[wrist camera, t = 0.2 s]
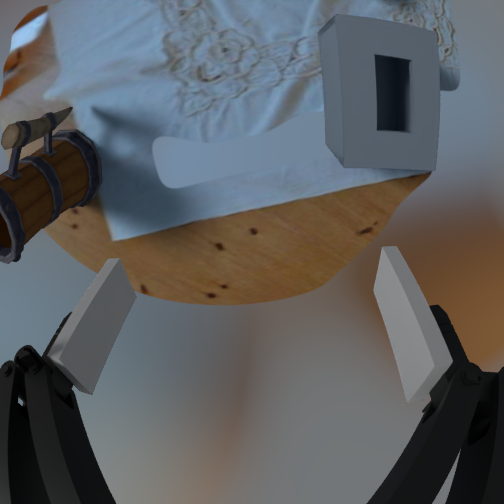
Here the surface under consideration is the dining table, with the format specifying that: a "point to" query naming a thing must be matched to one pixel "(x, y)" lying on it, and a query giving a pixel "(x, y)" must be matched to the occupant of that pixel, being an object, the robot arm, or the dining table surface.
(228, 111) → the dining table surface
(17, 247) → the mug
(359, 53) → the coin box
